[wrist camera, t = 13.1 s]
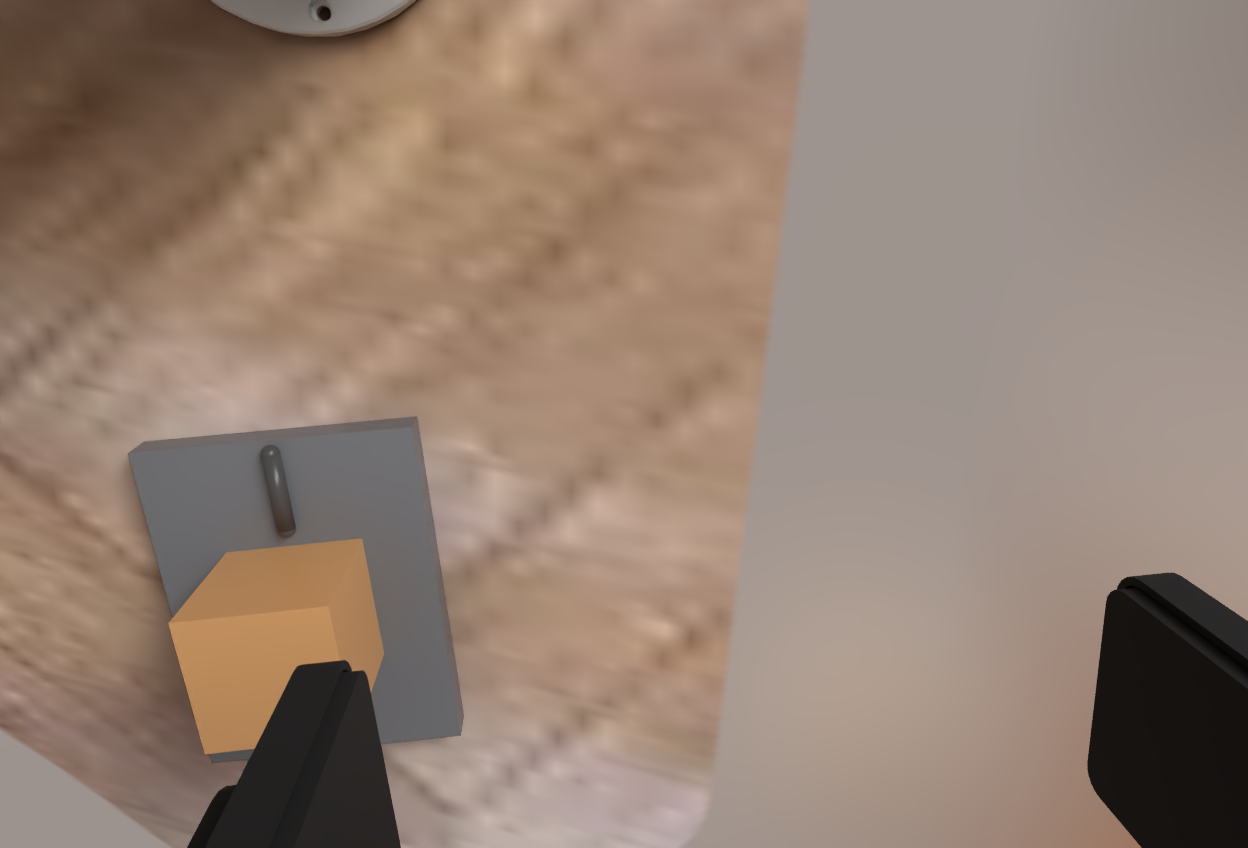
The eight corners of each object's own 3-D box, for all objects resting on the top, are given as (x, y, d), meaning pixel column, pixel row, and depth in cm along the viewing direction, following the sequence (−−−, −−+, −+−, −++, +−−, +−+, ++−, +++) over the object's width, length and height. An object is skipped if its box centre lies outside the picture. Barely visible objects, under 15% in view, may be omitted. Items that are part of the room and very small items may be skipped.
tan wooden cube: (226, 552, 38) (168, 623, 32) (362, 538, 38) (328, 606, 33) (255, 667, 40) (205, 754, 34) (384, 653, 40) (356, 737, 34)
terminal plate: (143, 442, 38) (77, 488, 32) (417, 416, 38) (394, 458, 33) (223, 742, 43) (176, 825, 37) (463, 715, 43) (451, 793, 38)
